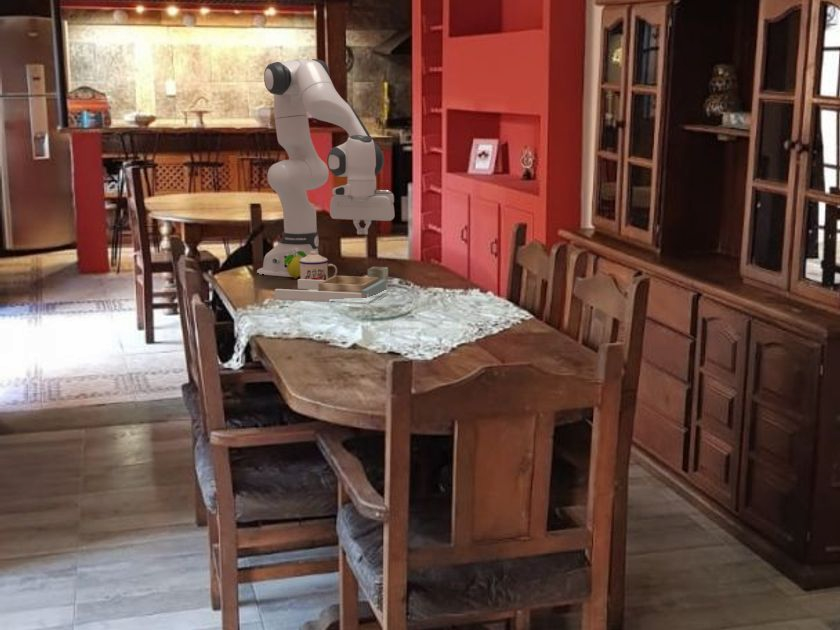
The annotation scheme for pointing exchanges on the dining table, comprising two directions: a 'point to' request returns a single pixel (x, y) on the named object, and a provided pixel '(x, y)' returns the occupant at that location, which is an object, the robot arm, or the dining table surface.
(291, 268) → the lemon
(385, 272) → the block
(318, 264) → the teacup with lid
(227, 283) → the dining table surface
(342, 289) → the crate
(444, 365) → the dining table surface
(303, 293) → the bay
